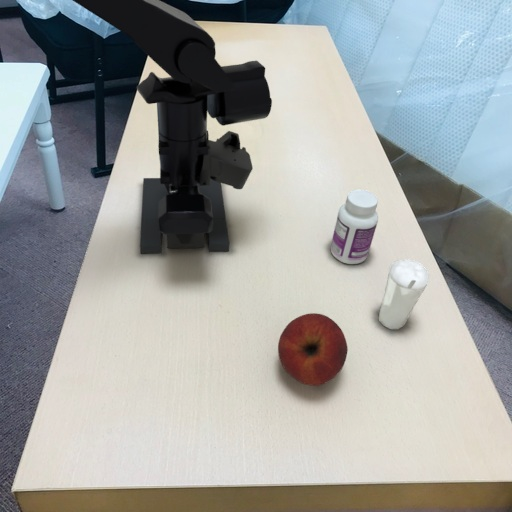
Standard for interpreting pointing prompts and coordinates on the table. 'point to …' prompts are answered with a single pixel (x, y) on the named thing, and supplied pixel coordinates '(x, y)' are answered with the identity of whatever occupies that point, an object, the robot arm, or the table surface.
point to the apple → (312, 349)
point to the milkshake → (402, 292)
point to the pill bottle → (355, 227)
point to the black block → (195, 241)
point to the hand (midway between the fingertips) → (184, 230)
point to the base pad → (150, 223)
